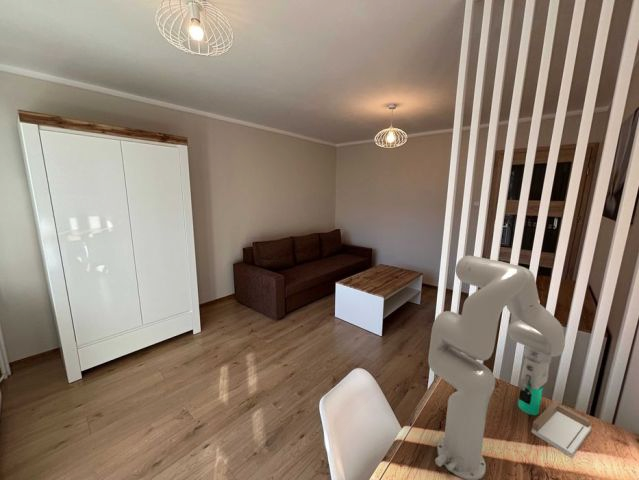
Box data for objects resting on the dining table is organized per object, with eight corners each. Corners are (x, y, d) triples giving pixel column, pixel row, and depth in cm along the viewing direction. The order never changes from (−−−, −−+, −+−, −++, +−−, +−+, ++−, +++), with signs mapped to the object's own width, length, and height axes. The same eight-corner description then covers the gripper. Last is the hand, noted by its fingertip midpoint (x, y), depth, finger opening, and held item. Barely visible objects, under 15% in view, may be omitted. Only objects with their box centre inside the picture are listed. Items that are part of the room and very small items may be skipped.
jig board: (571, 457, 79) (573, 446, 78) (531, 432, 87) (533, 421, 87) (590, 430, 88) (592, 420, 88) (552, 410, 97) (554, 400, 96)
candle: (531, 403, 100) (536, 374, 98) (542, 415, 94) (548, 385, 92) (514, 401, 100) (518, 373, 98) (524, 414, 95) (529, 384, 93)
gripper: (540, 367, 86) (532, 413, 89) (560, 351, 95) (552, 393, 98) (513, 355, 92) (507, 398, 95) (535, 341, 101) (528, 381, 104)
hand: (530, 396), depth 96 cm, fingers open, 9 cm apart
